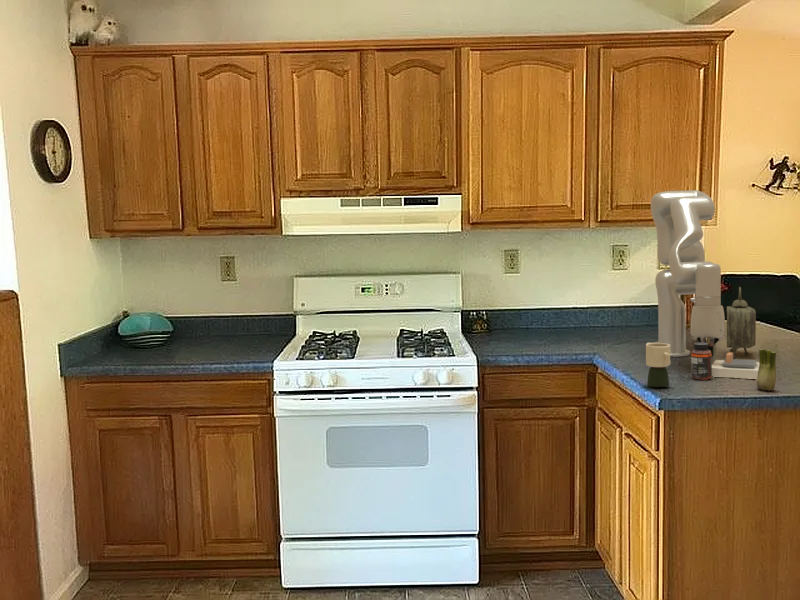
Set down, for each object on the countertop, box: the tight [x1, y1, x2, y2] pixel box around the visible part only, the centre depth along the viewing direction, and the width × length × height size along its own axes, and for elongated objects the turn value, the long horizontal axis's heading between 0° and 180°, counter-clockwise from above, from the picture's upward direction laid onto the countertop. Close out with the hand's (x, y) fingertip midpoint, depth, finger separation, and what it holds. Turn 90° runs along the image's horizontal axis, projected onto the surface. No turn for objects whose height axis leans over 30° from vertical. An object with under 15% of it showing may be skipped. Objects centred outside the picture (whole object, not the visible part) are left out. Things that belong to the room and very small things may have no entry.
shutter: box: [723, 351, 758, 368], centre depth 238 cm, size 9×9×3 cm
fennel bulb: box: [756, 348, 777, 391], centre depth 217 cm, size 6×5×12 cm
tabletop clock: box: [726, 286, 757, 359], centre depth 267 cm, size 14×9×25 cm, turn 158°
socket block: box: [712, 359, 759, 379], centre depth 239 cm, size 16×14×3 cm
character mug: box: [645, 342, 672, 388], centre depth 226 cm, size 11×7×13 cm, turn 15°
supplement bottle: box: [690, 342, 713, 381], centre depth 235 cm, size 6×6×11 cm
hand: (708, 357), depth 243 cm, fingers closed
